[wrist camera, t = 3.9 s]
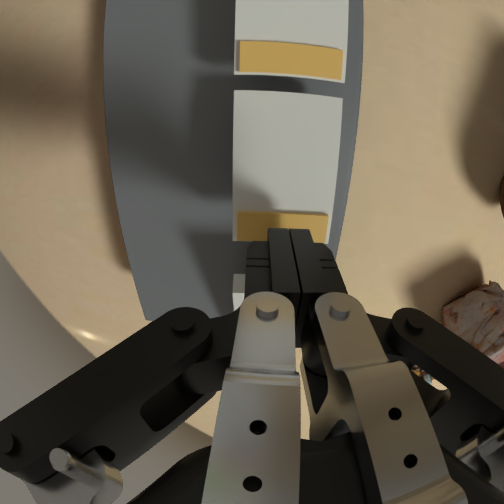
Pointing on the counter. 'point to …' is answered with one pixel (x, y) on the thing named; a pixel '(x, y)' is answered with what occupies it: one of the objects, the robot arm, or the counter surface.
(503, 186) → the tin
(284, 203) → the rocker middle
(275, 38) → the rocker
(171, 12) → the switch console
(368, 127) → the counter surface
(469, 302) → the food item
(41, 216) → the counter surface
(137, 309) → the counter surface
